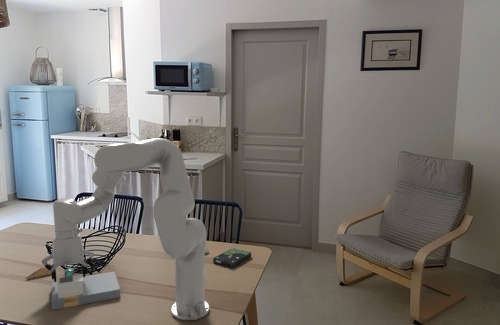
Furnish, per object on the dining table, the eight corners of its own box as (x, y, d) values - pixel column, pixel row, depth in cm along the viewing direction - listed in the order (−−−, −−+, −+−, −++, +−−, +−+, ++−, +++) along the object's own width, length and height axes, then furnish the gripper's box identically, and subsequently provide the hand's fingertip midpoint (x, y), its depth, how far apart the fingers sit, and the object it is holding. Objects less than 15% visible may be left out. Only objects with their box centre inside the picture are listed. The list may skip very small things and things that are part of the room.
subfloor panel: (120, 297, 146) (120, 289, 146) (52, 310, 137) (51, 301, 136) (114, 278, 160) (114, 271, 160) (52, 289, 151) (51, 281, 151)
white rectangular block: (83, 294, 142) (82, 279, 141) (58, 298, 138) (57, 283, 138) (83, 287, 146) (82, 273, 145) (58, 291, 143) (57, 277, 142)
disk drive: (232, 270, 171) (251, 258, 183) (232, 263, 170) (251, 252, 183) (212, 264, 176) (232, 252, 189) (212, 258, 176) (232, 247, 188)
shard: (25, 281, 158) (25, 277, 158) (24, 274, 164) (23, 269, 164) (56, 275, 164) (56, 271, 163) (53, 268, 170) (53, 264, 170)
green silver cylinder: (75, 291, 149) (74, 271, 148) (65, 293, 148) (64, 272, 147) (75, 288, 152) (73, 267, 151) (65, 289, 151) (64, 269, 150)
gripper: (91, 227, 153) (94, 270, 156) (40, 233, 146) (43, 278, 149) (93, 233, 147) (96, 278, 149) (39, 240, 139) (43, 287, 142)
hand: (69, 278), depth 149 cm, fingers open, 9 cm apart
